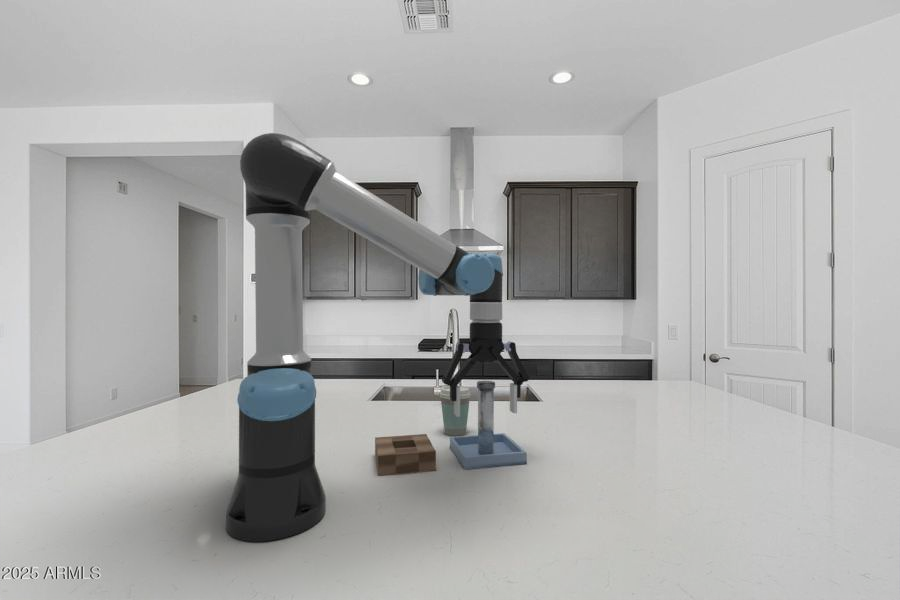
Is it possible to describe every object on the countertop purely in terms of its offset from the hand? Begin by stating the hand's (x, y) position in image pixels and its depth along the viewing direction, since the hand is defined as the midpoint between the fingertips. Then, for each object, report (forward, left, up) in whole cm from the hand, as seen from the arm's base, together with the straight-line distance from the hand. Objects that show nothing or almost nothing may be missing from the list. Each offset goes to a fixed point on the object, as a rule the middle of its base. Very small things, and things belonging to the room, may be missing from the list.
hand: (485, 413), depth 97 cm
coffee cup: (+18, +3, -10) cm, 21 cm away
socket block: (0, +19, -10) cm, 21 cm away
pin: (0, 0, -9) cm, 9 cm away
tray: (0, 0, -10) cm, 10 cm away
